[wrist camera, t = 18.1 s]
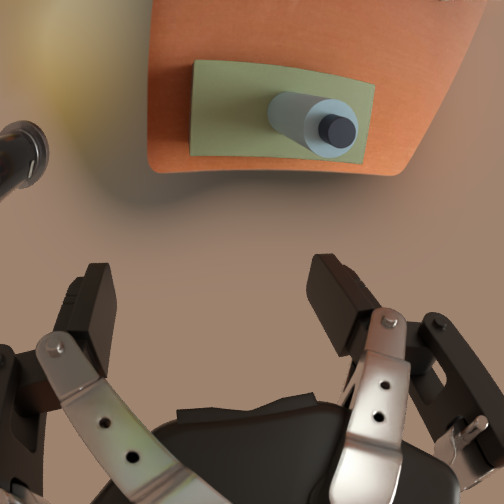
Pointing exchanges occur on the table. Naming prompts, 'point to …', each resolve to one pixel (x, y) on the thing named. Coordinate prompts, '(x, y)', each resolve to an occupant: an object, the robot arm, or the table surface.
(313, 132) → the water bottle
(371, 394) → the robot arm
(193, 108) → the lidded gift box
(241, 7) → the table surface
